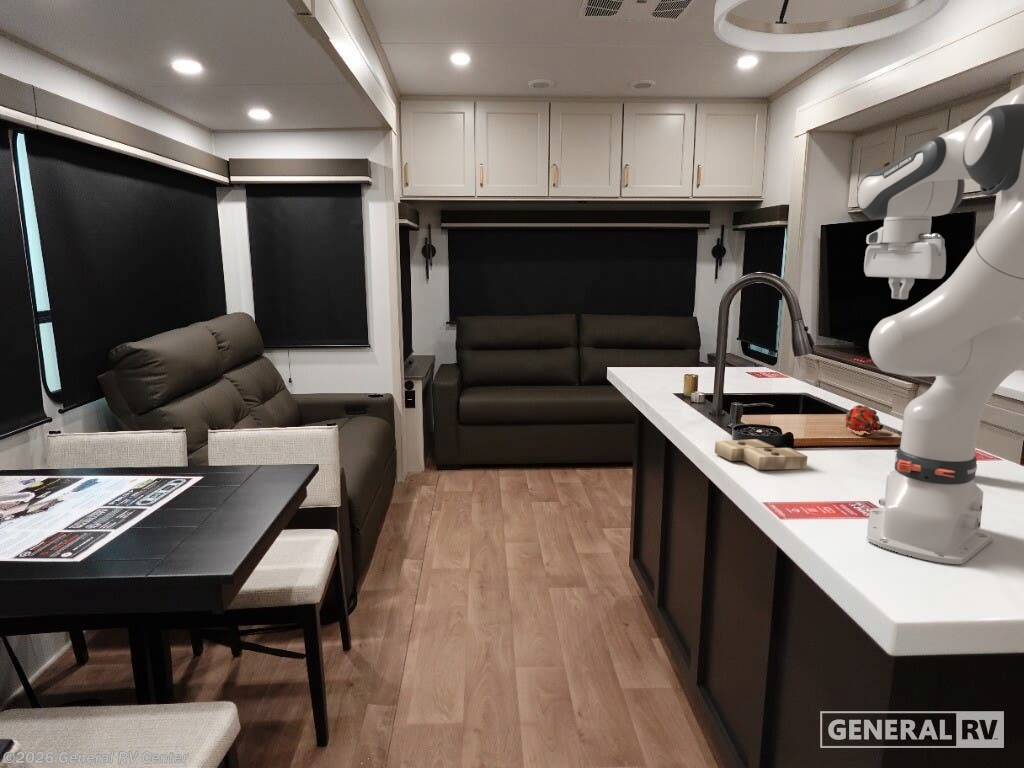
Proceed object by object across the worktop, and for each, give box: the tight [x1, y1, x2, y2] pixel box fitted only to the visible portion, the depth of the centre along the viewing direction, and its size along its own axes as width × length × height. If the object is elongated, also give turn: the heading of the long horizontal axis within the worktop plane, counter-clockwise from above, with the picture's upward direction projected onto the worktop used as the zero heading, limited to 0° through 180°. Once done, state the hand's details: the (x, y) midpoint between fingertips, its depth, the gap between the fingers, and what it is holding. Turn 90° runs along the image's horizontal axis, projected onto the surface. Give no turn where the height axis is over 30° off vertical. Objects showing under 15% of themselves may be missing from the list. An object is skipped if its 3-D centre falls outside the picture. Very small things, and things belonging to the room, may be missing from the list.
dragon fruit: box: [845, 404, 884, 434], centre depth 178 cm, size 8×8×12 cm
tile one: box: [714, 438, 776, 462], centre depth 159 cm, size 4×7×12 cm
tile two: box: [742, 447, 808, 471], centre depth 152 cm, size 4×7×12 cm
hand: (899, 298), depth 142 cm, fingers closed
